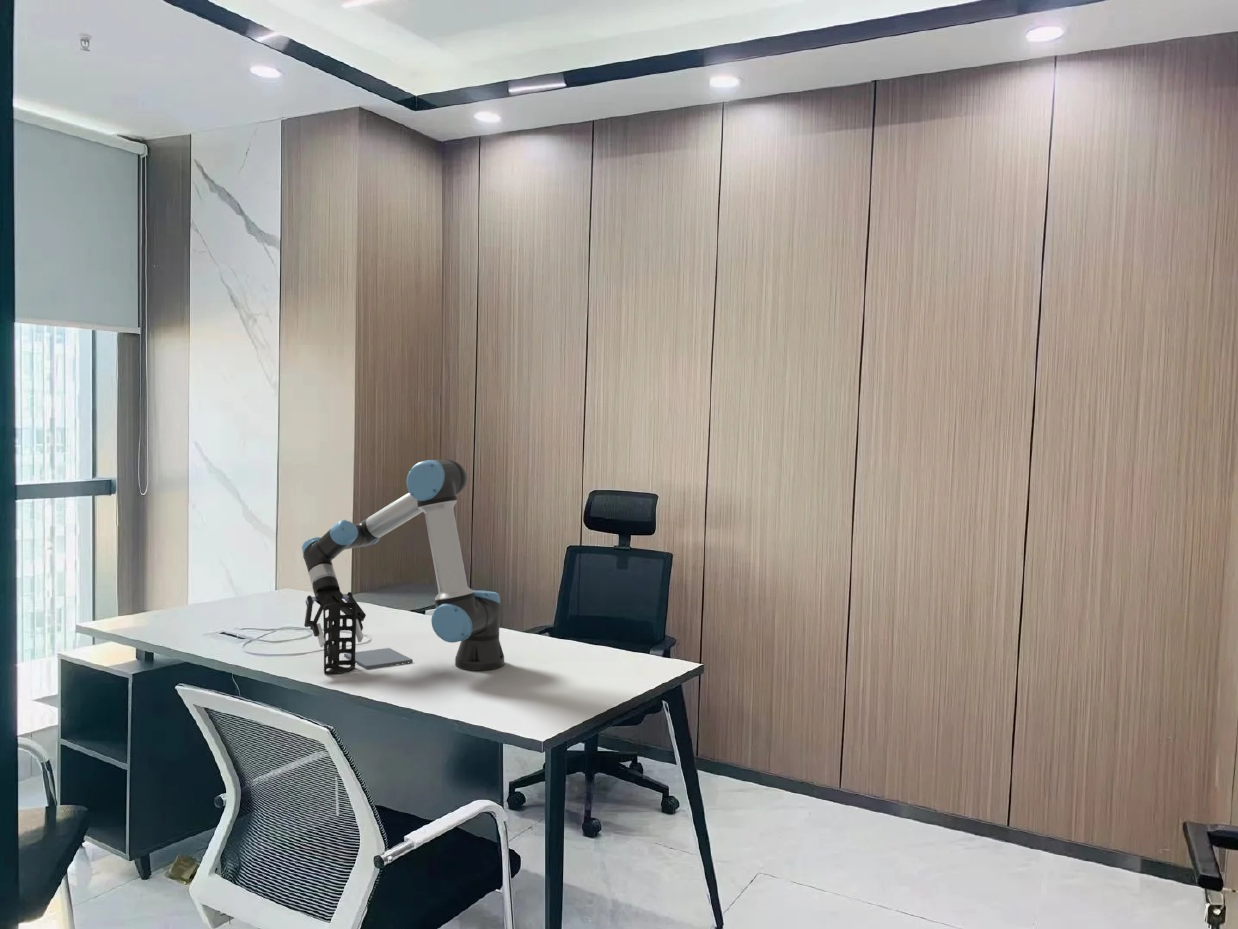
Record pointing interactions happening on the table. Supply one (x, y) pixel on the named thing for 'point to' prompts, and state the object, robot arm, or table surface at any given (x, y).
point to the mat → (378, 658)
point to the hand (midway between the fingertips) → (342, 642)
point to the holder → (338, 637)
